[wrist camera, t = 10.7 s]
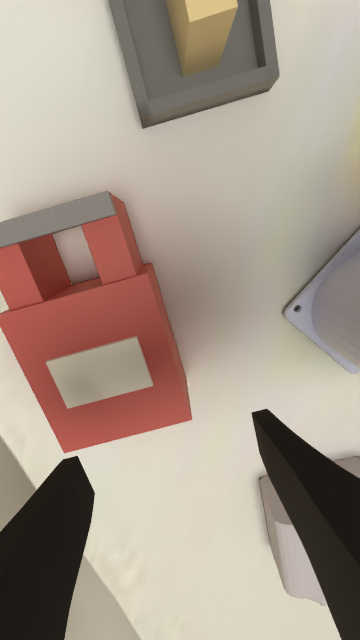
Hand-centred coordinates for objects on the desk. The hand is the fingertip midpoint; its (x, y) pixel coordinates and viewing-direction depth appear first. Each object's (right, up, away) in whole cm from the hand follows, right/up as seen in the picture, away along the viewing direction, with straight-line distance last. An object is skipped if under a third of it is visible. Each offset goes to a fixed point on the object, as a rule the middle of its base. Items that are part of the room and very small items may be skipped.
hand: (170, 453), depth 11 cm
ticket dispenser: (-5, +6, +8) cm, 11 cm away
